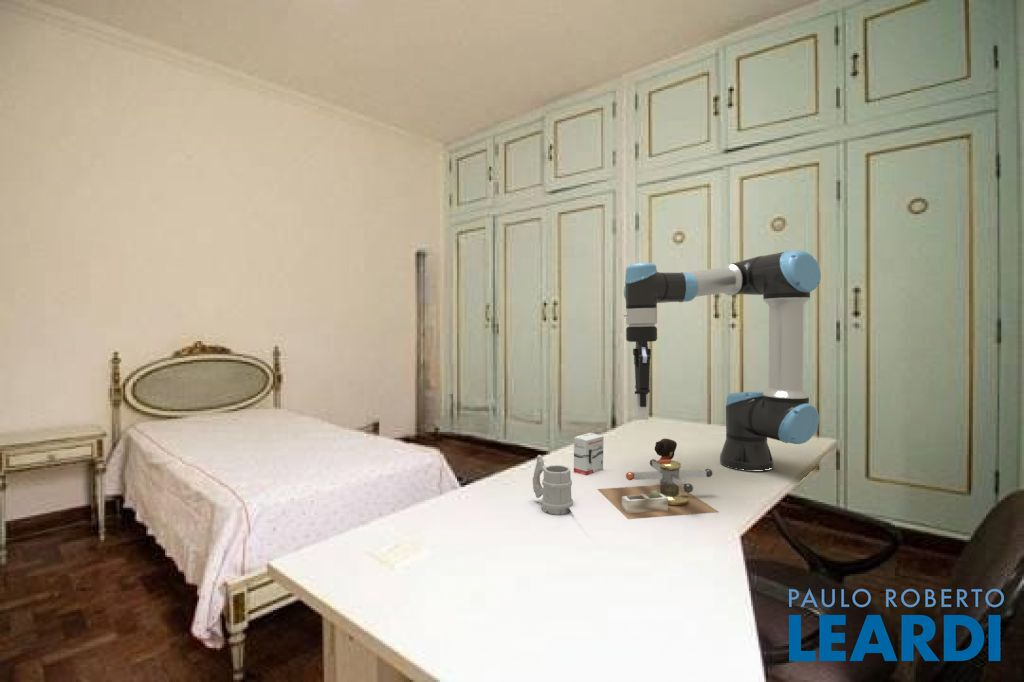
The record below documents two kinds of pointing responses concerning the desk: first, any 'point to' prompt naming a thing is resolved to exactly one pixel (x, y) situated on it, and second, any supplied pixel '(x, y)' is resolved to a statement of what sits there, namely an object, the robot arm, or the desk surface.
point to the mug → (553, 487)
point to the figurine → (665, 449)
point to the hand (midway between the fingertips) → (642, 419)
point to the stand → (651, 502)
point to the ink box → (588, 453)
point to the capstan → (671, 479)
